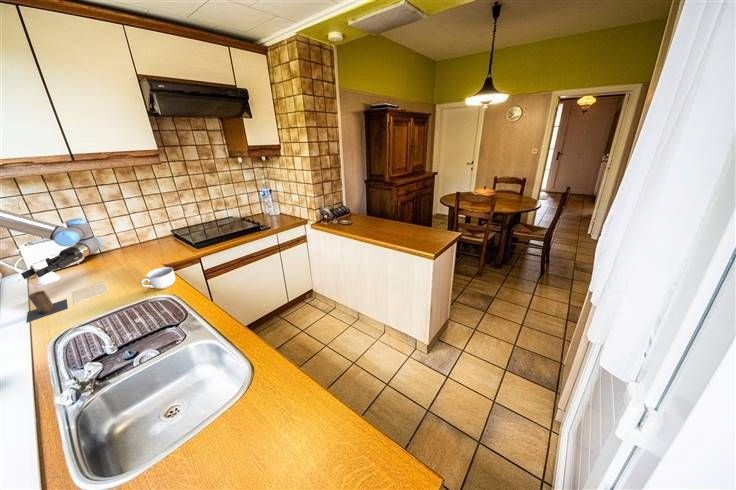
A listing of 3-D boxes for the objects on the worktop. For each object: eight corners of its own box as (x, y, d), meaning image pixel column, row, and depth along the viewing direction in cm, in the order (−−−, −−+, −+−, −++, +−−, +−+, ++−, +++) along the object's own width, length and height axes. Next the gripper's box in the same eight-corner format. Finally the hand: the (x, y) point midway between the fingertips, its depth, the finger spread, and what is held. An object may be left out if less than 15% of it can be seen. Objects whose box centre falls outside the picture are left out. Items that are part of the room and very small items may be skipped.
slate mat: (28, 313, 116) (27, 311, 116) (67, 300, 124) (66, 298, 124) (27, 324, 109) (26, 322, 108) (68, 310, 117) (67, 308, 116)
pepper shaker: (40, 311, 115) (28, 294, 112) (55, 306, 118) (44, 289, 115) (39, 315, 112) (27, 298, 109) (55, 310, 116) (44, 293, 112)
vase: (40, 286, 119) (28, 266, 115) (34, 283, 122) (21, 264, 118) (63, 278, 125) (52, 259, 121) (56, 275, 128) (45, 257, 124)
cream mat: (72, 293, 130) (71, 291, 130) (105, 282, 138) (104, 281, 138) (74, 305, 120) (73, 303, 120) (109, 293, 128) (108, 291, 128)
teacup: (174, 277, 139) (168, 264, 136) (181, 284, 133) (175, 270, 129) (141, 290, 129) (135, 275, 126) (147, 297, 123) (141, 282, 120)
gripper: (96, 257, 140) (58, 280, 119) (58, 262, 138) (11, 285, 116) (90, 245, 137) (49, 265, 116) (50, 249, 135) (1, 270, 113)
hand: (30, 275), depth 116 cm, fingers closed on vase, 5 cm apart
